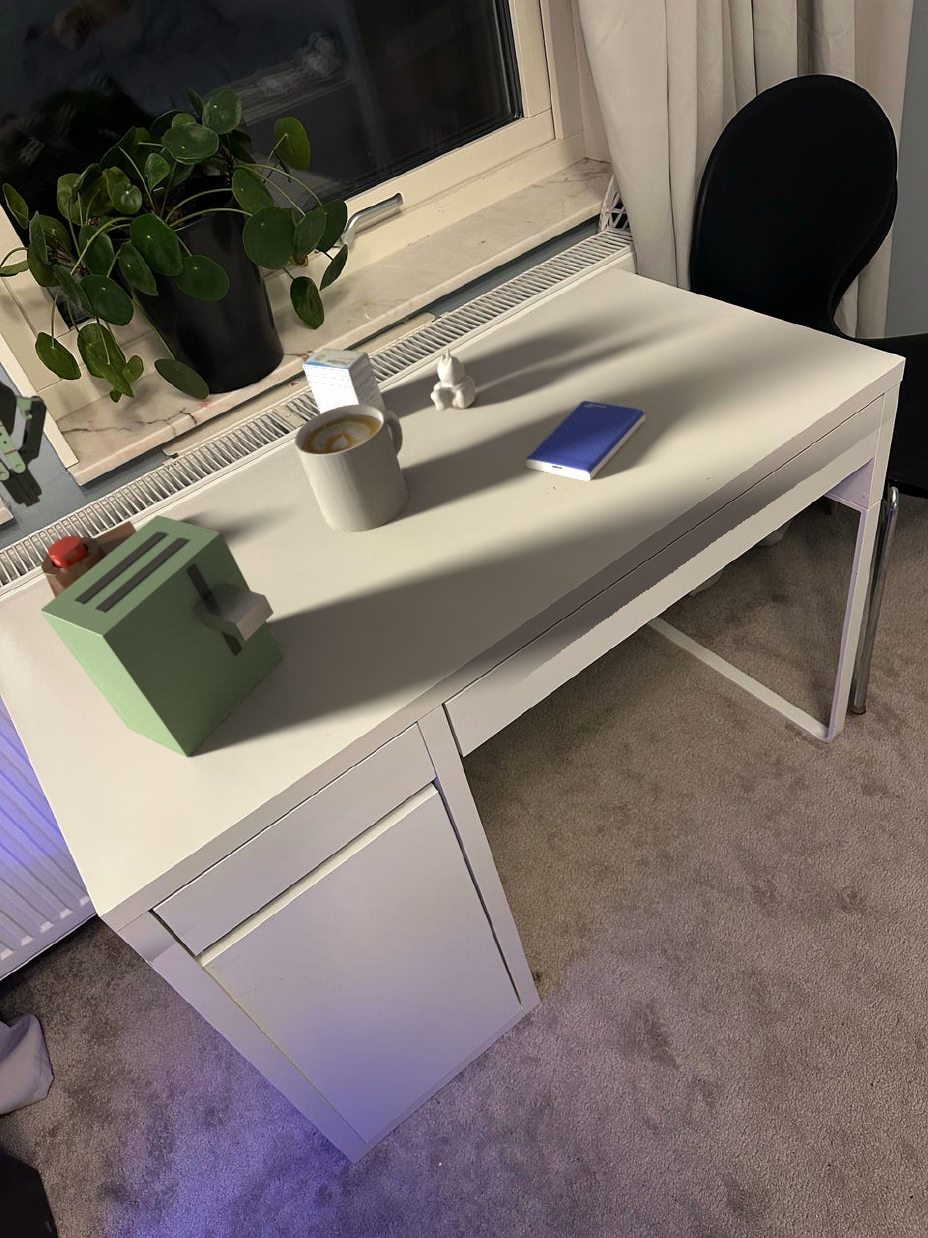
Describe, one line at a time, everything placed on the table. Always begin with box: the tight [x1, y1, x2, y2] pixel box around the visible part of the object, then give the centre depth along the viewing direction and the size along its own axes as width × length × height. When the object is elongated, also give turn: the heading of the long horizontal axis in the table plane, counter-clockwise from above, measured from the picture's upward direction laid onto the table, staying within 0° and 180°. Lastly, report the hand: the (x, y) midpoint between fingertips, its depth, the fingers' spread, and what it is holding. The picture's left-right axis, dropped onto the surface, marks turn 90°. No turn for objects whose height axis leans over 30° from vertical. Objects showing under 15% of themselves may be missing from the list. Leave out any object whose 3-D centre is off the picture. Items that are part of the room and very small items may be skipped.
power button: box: [47, 535, 87, 568], centre depth 94 cm, size 4×4×2 cm
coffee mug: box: [294, 404, 409, 533], centre depth 93 cm, size 13×10×10 cm
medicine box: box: [302, 347, 387, 414], centre depth 109 cm, size 8×4×9 cm, turn 58°
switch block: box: [40, 520, 138, 598], centre depth 96 cm, size 11×9×4 cm
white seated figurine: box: [430, 348, 476, 412], centre depth 105 cm, size 5×7×8 cm
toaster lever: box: [195, 583, 274, 641], centre depth 69 cm, size 4×5×2 cm
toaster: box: [39, 514, 285, 758], centre depth 74 cm, size 13×9×15 cm, turn 148°
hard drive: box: [525, 400, 646, 482], centre depth 95 cm, size 2×8×12 cm
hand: (32, 501), depth 89 cm, fingers closed
